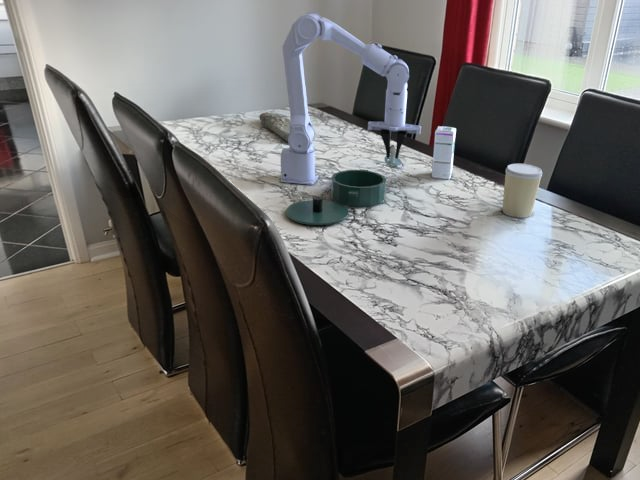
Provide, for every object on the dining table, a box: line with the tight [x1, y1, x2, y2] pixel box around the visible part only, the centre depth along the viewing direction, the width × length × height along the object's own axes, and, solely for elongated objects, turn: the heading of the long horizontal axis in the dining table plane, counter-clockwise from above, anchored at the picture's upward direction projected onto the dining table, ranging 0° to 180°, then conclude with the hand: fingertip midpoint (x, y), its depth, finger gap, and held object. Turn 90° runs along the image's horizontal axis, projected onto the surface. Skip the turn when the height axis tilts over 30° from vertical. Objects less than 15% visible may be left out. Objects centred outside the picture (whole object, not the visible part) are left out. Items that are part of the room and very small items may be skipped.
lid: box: [285, 195, 350, 226], centre depth 144 cm, size 16×16×5 cm
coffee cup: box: [502, 163, 543, 219], centre depth 151 cm, size 9×9×12 cm
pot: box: [330, 168, 387, 208], centre depth 156 cm, size 15×20×5 cm
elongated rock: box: [258, 111, 290, 142], centre depth 211 cm, size 35×5×10 cm
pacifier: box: [384, 144, 407, 170], centre depth 163 cm, size 7×6×6 cm
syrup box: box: [431, 125, 457, 180], centre depth 174 cm, size 6×6×14 cm
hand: (392, 157), depth 163 cm, fingers closed on pacifier
